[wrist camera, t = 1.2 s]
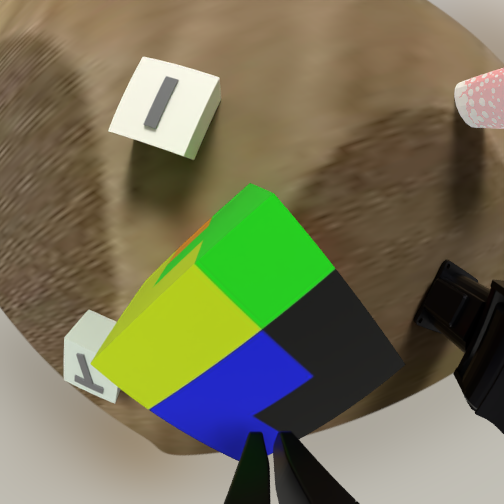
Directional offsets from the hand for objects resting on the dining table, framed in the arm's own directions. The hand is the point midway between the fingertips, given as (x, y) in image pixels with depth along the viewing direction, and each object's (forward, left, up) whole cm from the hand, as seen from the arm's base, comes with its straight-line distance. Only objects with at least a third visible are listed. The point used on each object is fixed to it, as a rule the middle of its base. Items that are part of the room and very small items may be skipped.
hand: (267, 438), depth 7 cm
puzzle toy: (0, 0, -13) cm, 13 cm away
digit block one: (+9, -9, -13) cm, 18 cm away
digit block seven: (+9, +9, -13) cm, 18 cm away
